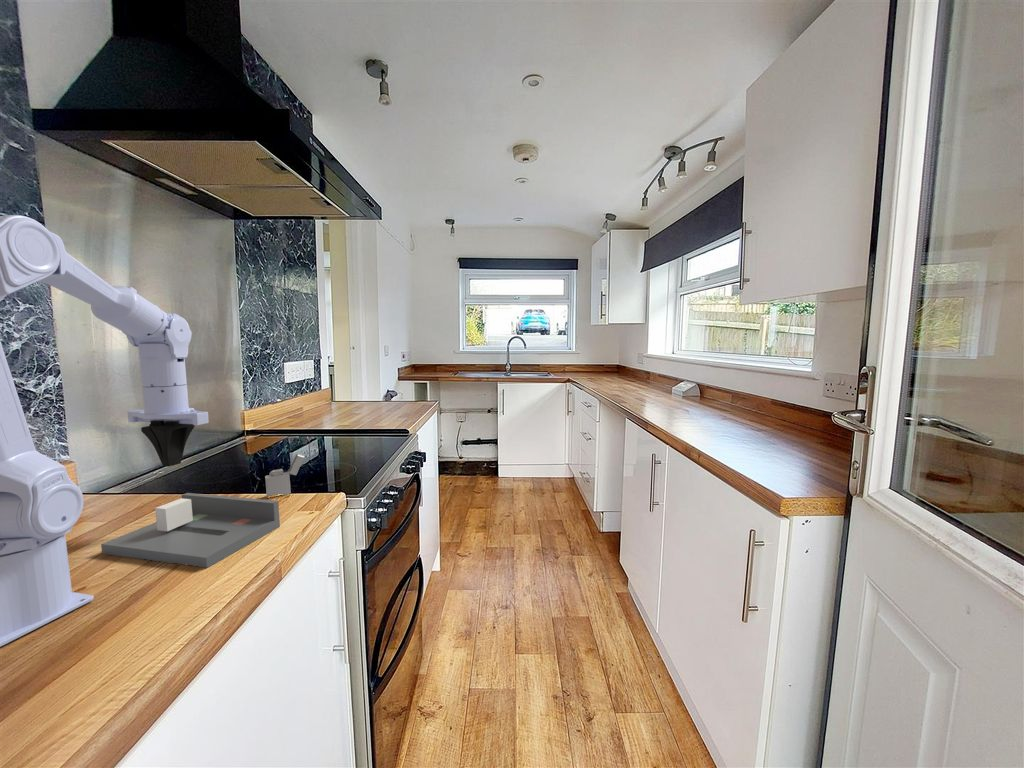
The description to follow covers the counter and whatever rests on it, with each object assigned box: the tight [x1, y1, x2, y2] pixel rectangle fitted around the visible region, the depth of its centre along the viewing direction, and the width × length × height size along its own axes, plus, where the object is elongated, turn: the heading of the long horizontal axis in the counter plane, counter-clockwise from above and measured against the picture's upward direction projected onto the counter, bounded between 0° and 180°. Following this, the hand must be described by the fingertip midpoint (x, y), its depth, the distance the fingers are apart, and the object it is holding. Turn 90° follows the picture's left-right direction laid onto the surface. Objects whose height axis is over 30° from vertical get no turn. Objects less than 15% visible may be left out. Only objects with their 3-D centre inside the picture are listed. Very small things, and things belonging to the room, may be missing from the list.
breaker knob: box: [155, 497, 193, 531], centre depth 64 cm, size 4×2×4 cm, turn 168°
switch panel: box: [100, 492, 281, 569], centre depth 63 cm, size 13×19×4 cm
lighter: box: [264, 452, 305, 498], centre depth 83 cm, size 7×2×8 cm, turn 127°
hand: (172, 464), depth 68 cm, fingers closed
